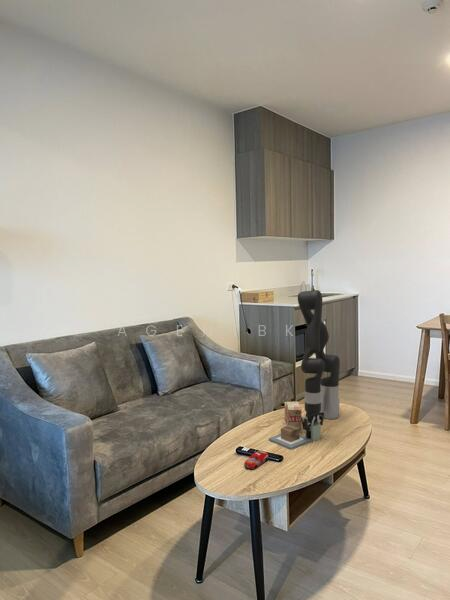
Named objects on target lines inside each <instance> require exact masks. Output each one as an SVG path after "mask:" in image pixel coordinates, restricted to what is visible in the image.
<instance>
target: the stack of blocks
mask: <svg viewBox="0 0 450 600" xmlns="http://www.w3.org/2000/svg"><path fill="white" fill-rule="evenodd" d="M283 405H284V406H283V407H284V420H285V423H286V426H288V425H291V426H294V427H297V428H299V434H302V421H301V418H302V407H301V405H300V402H299V401H284V404H283Z"/></svg>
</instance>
